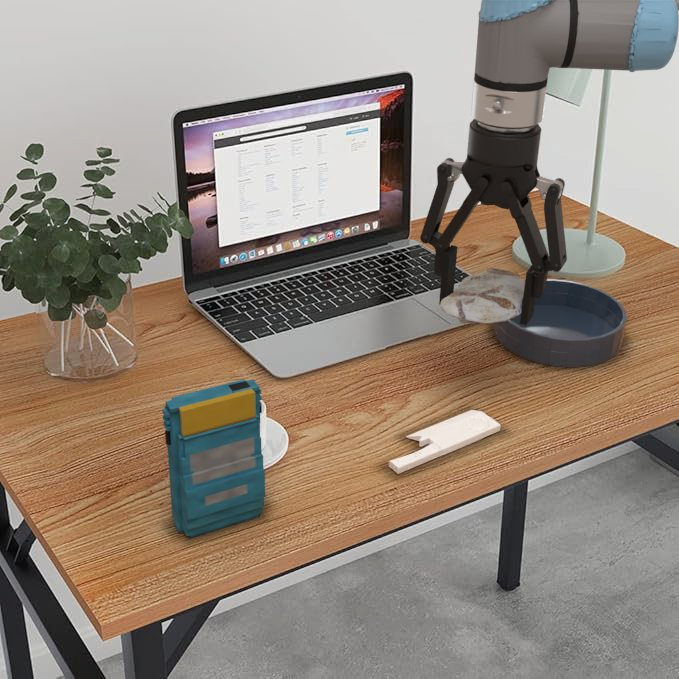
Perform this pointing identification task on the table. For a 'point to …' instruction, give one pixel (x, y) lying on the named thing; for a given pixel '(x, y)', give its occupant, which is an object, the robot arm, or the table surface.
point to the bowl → (567, 327)
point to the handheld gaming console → (215, 457)
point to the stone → (486, 297)
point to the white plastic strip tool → (446, 438)
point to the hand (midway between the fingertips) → (485, 309)
